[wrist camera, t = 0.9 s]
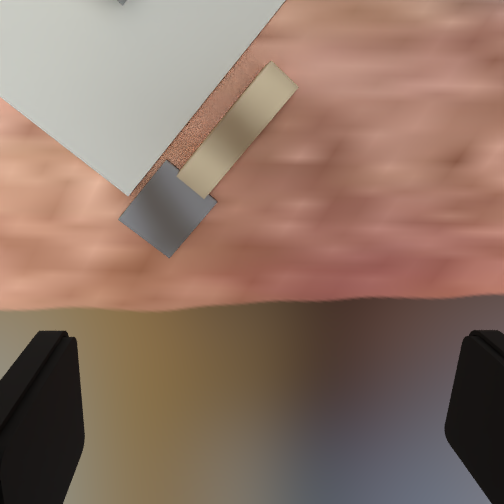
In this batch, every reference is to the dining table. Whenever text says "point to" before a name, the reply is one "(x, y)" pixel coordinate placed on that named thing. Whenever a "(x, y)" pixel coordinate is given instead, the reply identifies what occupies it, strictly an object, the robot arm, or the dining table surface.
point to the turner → (205, 166)
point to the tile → (122, 2)
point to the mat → (120, 71)
